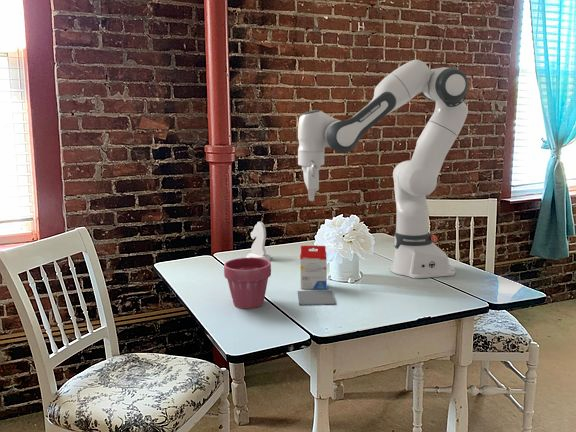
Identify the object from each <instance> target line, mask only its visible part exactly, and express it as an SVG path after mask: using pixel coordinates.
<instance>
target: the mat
mask: <svg viewBox="0 0 576 432" xmlns="http://www.w3.org/2000/svg"><path fill="white" fill-rule="evenodd" d="M297 296H298V297H297V298H298V305H299V306H331V305H332V306H334V304H336V305H337V303H336V299H335V295H334V293H333V290H297Z"/></svg>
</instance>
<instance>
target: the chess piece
mask: <svg viewBox="0 0 576 432" xmlns="http://www.w3.org/2000/svg"><path fill="white" fill-rule="evenodd" d="M265 226H266V225H265V223H263V222H262V221H257V223H256V224H255V225H254V228H253V229H252V231H251V232H250V237H251V239H252V240H254V239H255V240H254V241H253V242H252V244H251V248H250V251H251V252H249V253H247V255H246V257H245V258H262V259H266V260H268V261H271V260H272V257H271V255H270V254H269V253H268V252H267V251H266V248H265V244H266V238H267V231H266V230H267V229H266V227H265Z"/></svg>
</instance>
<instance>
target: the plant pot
mask: <svg viewBox="0 0 576 432" xmlns="http://www.w3.org/2000/svg"><path fill="white" fill-rule="evenodd" d="M271 275H272V265H271V260H269V261H268V260H266V259H262V258H246V257H239V258H233V259H230V260H228V261H226V262H225V263H224V265H223V276H224V278H225V279H226V280H227V283H228V287H229V291H230V295H231V299H232V303H233V305H234V306H235V307H237V308H241V309H256V308H259V307H261V306H263V304H264V303H265V297H266V293H267V292H266V290H267V285H268V280H269V278H270V277H271Z"/></svg>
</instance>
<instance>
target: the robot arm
mask: <svg viewBox="0 0 576 432" xmlns="http://www.w3.org/2000/svg"><path fill="white" fill-rule="evenodd" d="M468 85H469V80H468V77H467V75H466V74H465V72H463V70H460V69H458V68H455V67H443V66H442V67H437V68H430V67H429V66H428V65H427V64H426V63H425V62H424V61H423V60H420V59H413V60H410V61H407V62H406V63H405V64H403V65H401V66H398V68H396V69H394V70H393V71H391V72H390V73H389V74H388V75H386V76H385V77H384V78H383V79H381V81H380V82H379V83H378V84H377V85H376V86H375V88H374V90H373V97H372V99H371V100H370V101H369V103H368V104H366V105H365V106H364V107H363V108H362V109H361V110H359V111H358V112H357V113H355V114H354V115H353V116H352V117H351V118H347V119H345V120H340V119H337V118H334V117H332V116H330V115H328V114H327V113H325V112H324V111H323V110H320V109H314V110H309V111H305V112H303V113H301V114H300V115H299V119H298V125H297V139H298V148H297V165H298V166H301V170H302V174H303V181H304V185H305V187H306V189H307V196H308V197H307V199H308V200H309V201H310V202H314V201H315V195H316V193H315V192H318V191H319V189H320V183H319V182H320V171H321V170H322V169H321V168H322V167H321V166H324V165H325V150H326V149H325V148H330V149H331V150H333V151H335V152H336V153H339V154H347V153H349V152H351V151H353V150H354V149H355V148H356V147H357V145H358V143H360V141H361V139H362V138H363V136H364V134H365V133H366V132H367V131H369V130H370V129H371V128H372V127H373V126H375V125H376V124H377V123H378V122H380V121H381V120H383V118H385V117H387V115H388V114H390V113H392V112H394V111H396V110H397V109H399V108H401V107H402V106H404V105H405V104H407V103H408V102H410V100H412V99H413V98H415V96H418V95H419V94H420V95H422V96H423V97H425V98H426V99H428V100H431V101H434V102H435V107H434V110H433V114H432V115H431V117H430V118H429V120H428V122H427V123H426V124H425V127H424V128H423V129H422V132H421V134H420V135H419V137H418V139H417V140H416V142H415V143H416V144H415V145H416V146H415V148H414V151H413V154H412V157H411V159H409V160H404V161H401V162H400V163H397V164H396V165H395V167H394V169H393V171H392V178H393V184H394V185H393V186H394V187H393V188H394V197H395V206H396V209H395V210H396V217H395V218H396V219H395V220H396V223H395V231H394V237H393V240H394V241H393V246H394V253H393V258H392V259H393V260H392V262H391V266H390V269H389V270H390V272H392V273H394V274H396V275H400V276H406V277H409V278H412V279H426V278H437V277H439V278H440V277H449V276H452V277H453V276H455V275H456V269H455V268H454V267H453V266H452V265H451V264H450V263H449V258H448V254H447V253H446V252H445V251H443V249H441V248H440V247H439V246H438V245H436V244H435V243H436V242H437V241H438V237H437V236H436V235H435V234H432V233H430V232H429V216H430V214H429V212H430V211H429V207H428V203H427V196H429V195H431V194H432V193H433V192H434V191H435V190H436V189H437V184H438V178H439V177H438V176H439V175H440V173H441V169H442V166H443V164H444V161H445V158H446V157H447V154H448V153H449V152H450V150H451V148H452V147H453V144H454V143H455V141H456V140H457V137H458V136H459V135H460V132H461V130H462V128H463V126H464V125H465V121H466V119H467V117H468V113H469V108H468V106H467V104H466V103H465V100H466V97H467V96H466V95H467V91H468V87H469V86H468ZM309 201H308V202H309ZM434 242H435V243H434Z"/></svg>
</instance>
